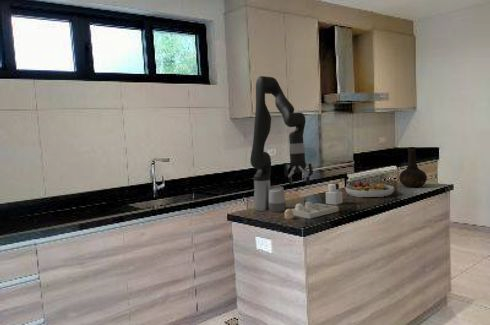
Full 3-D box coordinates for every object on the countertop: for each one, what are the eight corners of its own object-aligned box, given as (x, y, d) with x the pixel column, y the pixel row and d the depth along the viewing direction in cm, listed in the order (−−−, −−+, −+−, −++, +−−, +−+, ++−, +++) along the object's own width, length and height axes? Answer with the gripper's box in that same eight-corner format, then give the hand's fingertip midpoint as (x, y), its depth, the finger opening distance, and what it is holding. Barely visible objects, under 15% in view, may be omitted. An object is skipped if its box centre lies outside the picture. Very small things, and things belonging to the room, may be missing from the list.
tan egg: (282, 219, 196) (282, 208, 195) (289, 218, 198) (288, 207, 198) (288, 221, 192) (288, 210, 192) (295, 219, 195) (294, 208, 194)
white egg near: (293, 214, 203) (293, 203, 203) (299, 212, 206) (299, 202, 206) (299, 215, 200) (299, 204, 199) (305, 213, 202) (305, 203, 202)
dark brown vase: (430, 185, 273) (429, 146, 271) (422, 189, 260) (421, 147, 257) (404, 184, 285) (403, 146, 282) (395, 187, 272) (394, 148, 269)
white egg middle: (303, 211, 208) (302, 201, 207) (308, 210, 210) (308, 200, 210) (309, 212, 204) (308, 202, 204) (314, 211, 207) (314, 201, 206)
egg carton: (288, 215, 204) (288, 209, 204) (317, 208, 217) (317, 203, 217) (309, 220, 192) (309, 213, 192) (338, 212, 205) (338, 206, 205)
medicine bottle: (332, 201, 234) (331, 182, 233) (342, 203, 229) (342, 183, 228) (325, 203, 229) (325, 183, 228) (336, 205, 224) (335, 184, 223)
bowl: (404, 195, 244) (404, 183, 243) (365, 200, 233) (365, 188, 232) (372, 189, 272) (372, 178, 271) (336, 194, 261) (336, 182, 260)
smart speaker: (265, 212, 214) (264, 187, 213) (276, 209, 221) (275, 185, 220) (278, 214, 208) (277, 188, 206) (289, 211, 214) (288, 186, 213)
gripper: (312, 151, 195) (314, 183, 196) (285, 152, 200) (288, 183, 201) (309, 152, 188) (311, 185, 189) (281, 153, 193) (283, 185, 194)
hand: (299, 184), depth 195 cm, fingers open, 8 cm apart
